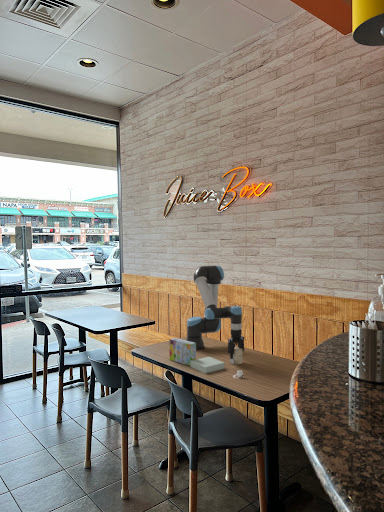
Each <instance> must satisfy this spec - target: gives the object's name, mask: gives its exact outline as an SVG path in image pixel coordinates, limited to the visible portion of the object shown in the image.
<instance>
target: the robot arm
mask: <svg viewBox="0 0 384 512" xmlns="http://www.w3.org/2000/svg"><path fill="white" fill-rule="evenodd" d="M224 273H225V272H224V270H223V268H222V266H220V265H201V266H199V267H198V268H196V269H195V272H194V273H193V282H194V284H195V285H196V286H197V288H198V292H199V294H200V296H201V297H200V298H201V300H202V302H203V304H204V307H205V309H204V313H203V317H202V316H191V317H189V318H187V320H186V338H185V339H186V341H190V342H194V343H196V351H198V350H202V349H204V348H205V343H204V340H203V334H213V333H218V332H219V331H220V330H221V327H222V322H221V319H230V335H231V336H230V338H227V342H228V344H227V353H228V354H229V360H230V359H231V363H230V364H233V365H235V364H234V354H233V353H234V348H235V347H236V345H237V347H238V348H241V349H242V353H243V352H245V336H243V334H242V332H243V330H242V327H243V324H242V323H243V309H242V308H243V307H241V306H239V305H233V306H232V305H231V306H229V305H228V306H227V305H226V306H224V307H223V306H222V307H218V300H219V299H218V298H219V286H220V284H221V283H222V281H223V280H224V278H225V274H224Z"/></svg>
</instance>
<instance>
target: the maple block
mask: <svg viewBox="0 0 384 512" xmlns="http://www.w3.org/2000/svg"><path fill="white" fill-rule="evenodd" d="M242 349H243V348H242ZM242 349H241V348H238V346H235V348H234V353H233V354H234V364H233V365H235V366H238V365H240V364H243V352H242ZM229 363H230V364H232V363H231V359H230V358H229Z"/></svg>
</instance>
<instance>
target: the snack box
mask: <svg viewBox="0 0 384 512" xmlns="http://www.w3.org/2000/svg"><path fill="white" fill-rule="evenodd" d="M169 360H170V361H172V362H176V363H180V364H182V365H186V366H190V367H191V361H192V360H197V350H196V343H194V342H190V341H186V340H185V339H181V338H177V337H172V338H169Z"/></svg>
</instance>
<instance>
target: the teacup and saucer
mask: <svg viewBox="0 0 384 512" xmlns="http://www.w3.org/2000/svg"><path fill="white" fill-rule="evenodd" d="M242 375H244V373H243V370H241V369H237V371H236V374H234V375H232V378H234V379H236V378H237V379H236V380H239V379H238V378H243V376H242ZM236 376H237V377H236Z"/></svg>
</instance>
